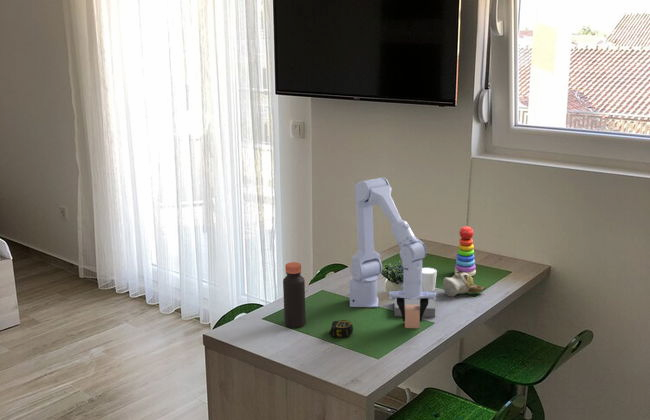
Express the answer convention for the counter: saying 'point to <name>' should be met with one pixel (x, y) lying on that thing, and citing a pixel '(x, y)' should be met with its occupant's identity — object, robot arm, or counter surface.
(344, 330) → the tape measure
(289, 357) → the counter surface
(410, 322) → the terracotta block
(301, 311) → the bottle
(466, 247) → the stacking toy
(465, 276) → the ceramic sculpture
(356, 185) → the robot arm
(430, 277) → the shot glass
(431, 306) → the plinth
